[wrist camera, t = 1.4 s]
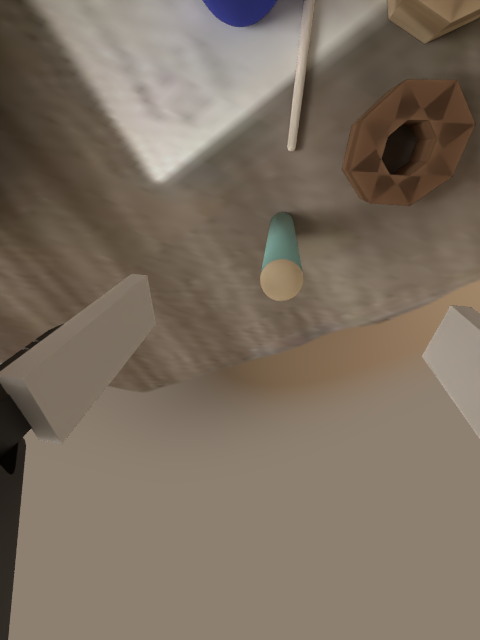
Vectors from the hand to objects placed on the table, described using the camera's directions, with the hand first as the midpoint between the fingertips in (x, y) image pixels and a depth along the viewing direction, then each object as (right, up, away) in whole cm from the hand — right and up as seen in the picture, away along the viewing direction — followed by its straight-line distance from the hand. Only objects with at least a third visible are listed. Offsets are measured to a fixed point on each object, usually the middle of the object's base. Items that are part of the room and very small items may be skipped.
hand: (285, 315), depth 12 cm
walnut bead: (+12, +15, +11) cm, 22 cm away
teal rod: (+3, +10, +16) cm, 19 cm away
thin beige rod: (+3, +22, +8) cm, 24 cm away
